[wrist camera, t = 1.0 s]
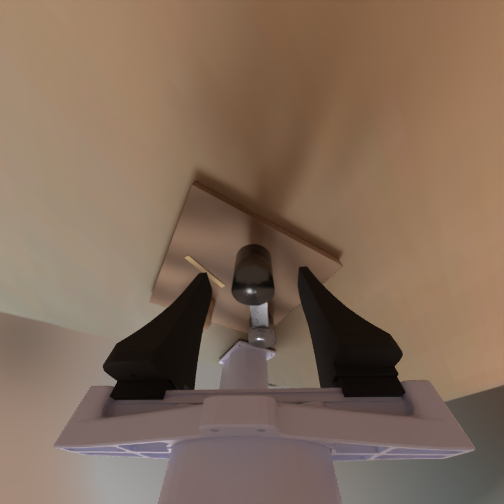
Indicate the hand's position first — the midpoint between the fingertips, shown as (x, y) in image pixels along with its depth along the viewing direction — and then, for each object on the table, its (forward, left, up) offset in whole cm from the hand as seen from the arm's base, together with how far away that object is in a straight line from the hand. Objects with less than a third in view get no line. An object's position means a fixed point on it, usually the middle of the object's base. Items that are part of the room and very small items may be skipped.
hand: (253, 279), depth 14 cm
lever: (-5, -4, -5) cm, 8 cm away
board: (-7, -2, -7) cm, 10 cm away
